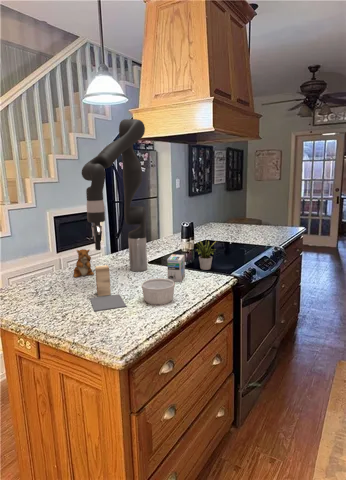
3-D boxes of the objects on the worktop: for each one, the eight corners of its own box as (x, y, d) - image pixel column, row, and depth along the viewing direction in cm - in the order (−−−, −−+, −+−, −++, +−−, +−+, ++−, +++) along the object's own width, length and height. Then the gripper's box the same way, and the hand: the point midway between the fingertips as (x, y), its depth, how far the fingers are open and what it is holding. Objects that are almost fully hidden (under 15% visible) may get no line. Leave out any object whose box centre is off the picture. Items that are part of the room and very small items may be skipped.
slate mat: (90, 298, 139) (90, 298, 139) (119, 294, 143) (119, 294, 143) (94, 311, 126) (94, 310, 126) (126, 306, 130) (126, 305, 130)
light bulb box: (181, 282, 158) (181, 259, 156) (167, 281, 159) (166, 259, 157) (185, 275, 168) (185, 254, 166) (171, 275, 170) (171, 254, 168)
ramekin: (163, 308, 128) (162, 290, 127) (135, 302, 135) (134, 285, 133) (181, 297, 139) (180, 281, 138) (154, 292, 146) (154, 276, 144)
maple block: (97, 293, 145) (95, 266, 143) (108, 292, 147) (107, 265, 144) (98, 297, 141) (96, 269, 138) (110, 295, 142) (109, 268, 140)
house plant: (185, 270, 176) (185, 239, 173) (194, 264, 189) (194, 235, 186) (212, 273, 171) (212, 241, 168) (219, 266, 184) (219, 236, 181)
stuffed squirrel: (73, 278, 167) (71, 252, 164) (73, 271, 180) (71, 246, 178) (94, 276, 170) (93, 250, 167) (92, 269, 183) (90, 245, 181)
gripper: (107, 211, 143) (109, 252, 146) (102, 209, 156) (104, 246, 159) (88, 212, 141) (91, 253, 144) (85, 210, 153) (87, 247, 156)
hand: (98, 249), depth 151 cm, fingers closed
